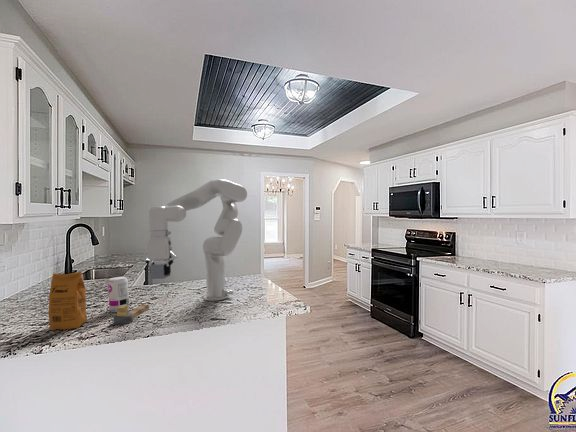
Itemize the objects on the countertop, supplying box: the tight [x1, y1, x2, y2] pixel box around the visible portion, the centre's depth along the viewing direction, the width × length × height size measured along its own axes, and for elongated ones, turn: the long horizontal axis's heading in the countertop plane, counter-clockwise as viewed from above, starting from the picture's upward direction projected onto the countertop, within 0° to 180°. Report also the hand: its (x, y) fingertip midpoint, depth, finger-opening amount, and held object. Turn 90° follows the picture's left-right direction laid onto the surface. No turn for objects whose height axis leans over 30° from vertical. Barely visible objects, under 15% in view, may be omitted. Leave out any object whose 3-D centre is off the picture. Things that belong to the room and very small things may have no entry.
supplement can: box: [107, 276, 130, 313], centre depth 147 cm, size 8×8×15 cm
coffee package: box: [48, 271, 88, 331], centre depth 128 cm, size 10×12×22 cm
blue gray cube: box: [149, 262, 171, 280], centre depth 138 cm, size 6×6×6 cm
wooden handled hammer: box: [113, 304, 150, 326], centre depth 137 cm, size 20×7×7 cm, turn 175°
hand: (160, 274), depth 138 cm, fingers closed on blue gray cube, 6 cm apart
